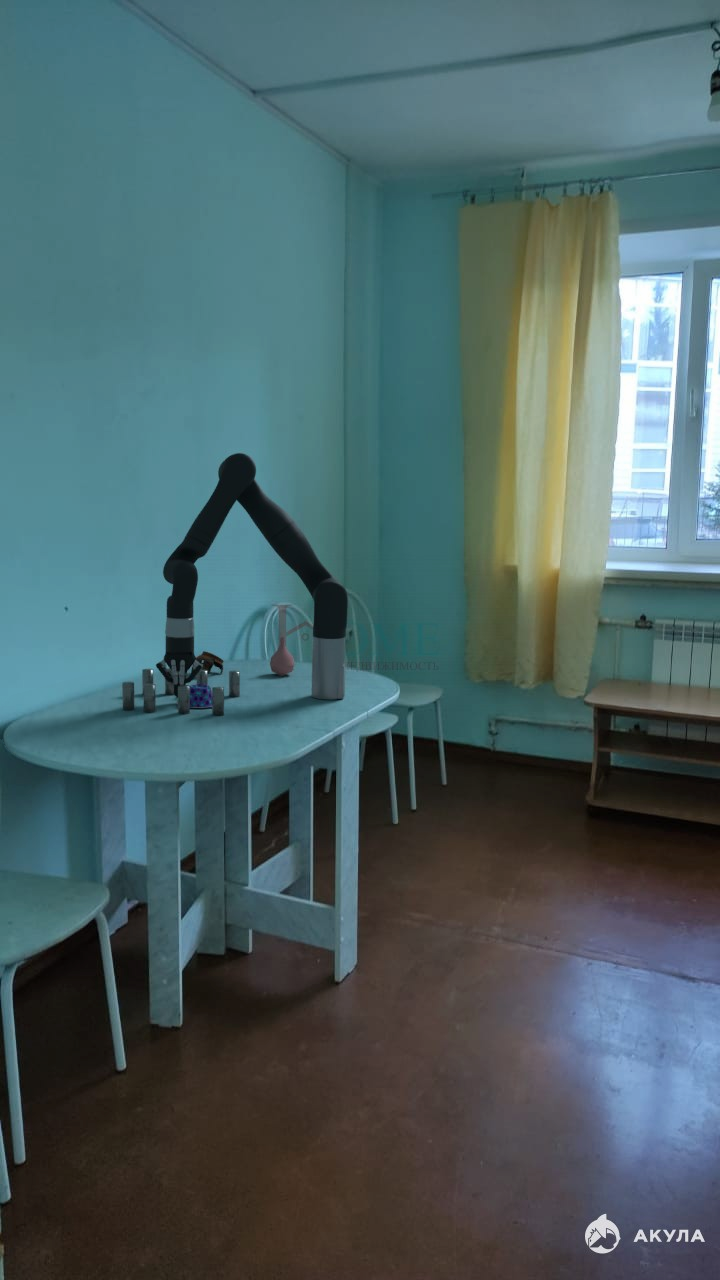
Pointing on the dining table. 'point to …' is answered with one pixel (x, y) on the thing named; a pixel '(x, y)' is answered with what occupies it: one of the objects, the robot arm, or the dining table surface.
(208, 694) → the pudding
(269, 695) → the dining table surface
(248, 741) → the dining table surface
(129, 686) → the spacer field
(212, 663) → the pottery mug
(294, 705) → the dining table surface
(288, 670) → the perfume bottle
